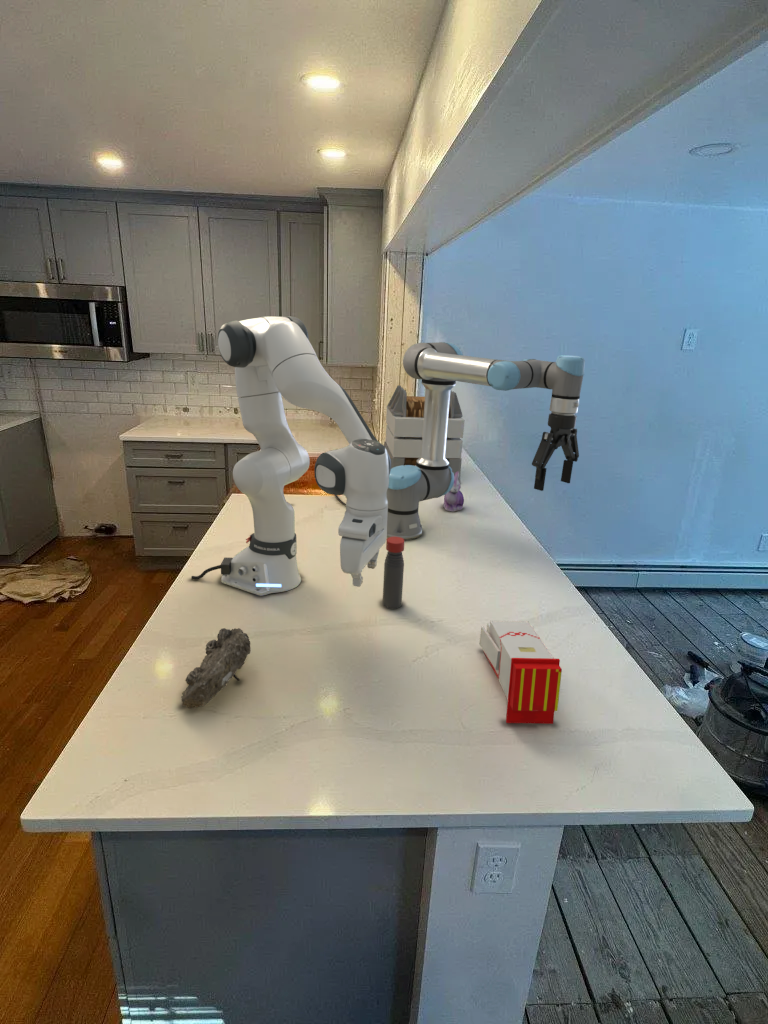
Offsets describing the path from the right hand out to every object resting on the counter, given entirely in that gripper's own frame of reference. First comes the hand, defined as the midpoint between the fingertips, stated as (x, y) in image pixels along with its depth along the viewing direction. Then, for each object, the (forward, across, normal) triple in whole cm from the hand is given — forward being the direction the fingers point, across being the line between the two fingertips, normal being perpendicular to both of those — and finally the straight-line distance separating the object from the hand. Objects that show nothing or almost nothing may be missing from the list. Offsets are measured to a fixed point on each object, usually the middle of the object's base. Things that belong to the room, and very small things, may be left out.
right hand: (552, 485), depth 166 cm
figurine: (+28, +22, +56) cm, 66 cm away
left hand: (+9, -70, 0) cm, 70 cm away
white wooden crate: (+28, +46, +101) cm, 115 cm away
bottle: (+28, -50, +12) cm, 59 cm away
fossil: (+28, -100, +9) cm, 105 cm away
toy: (+28, -51, -29) cm, 65 cm away
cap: (+10, -50, +12) cm, 52 cm away
